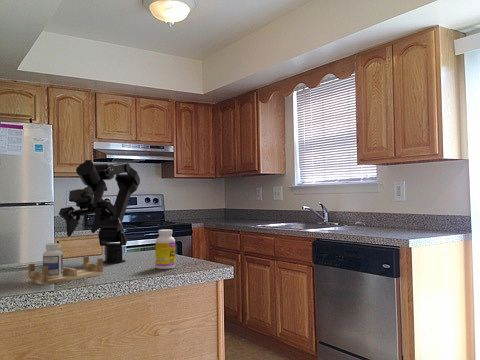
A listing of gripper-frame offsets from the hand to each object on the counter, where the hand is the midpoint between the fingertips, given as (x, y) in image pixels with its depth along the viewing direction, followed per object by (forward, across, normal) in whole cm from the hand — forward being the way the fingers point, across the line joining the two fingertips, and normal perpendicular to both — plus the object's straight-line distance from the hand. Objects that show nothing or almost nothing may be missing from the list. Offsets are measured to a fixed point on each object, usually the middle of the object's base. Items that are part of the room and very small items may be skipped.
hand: (80, 234), depth 134 cm
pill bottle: (+14, -4, 0) cm, 15 cm away
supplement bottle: (+2, +18, +25) cm, 30 cm away
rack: (+13, -3, +4) cm, 14 cm away
